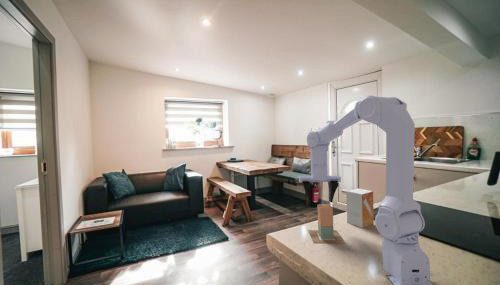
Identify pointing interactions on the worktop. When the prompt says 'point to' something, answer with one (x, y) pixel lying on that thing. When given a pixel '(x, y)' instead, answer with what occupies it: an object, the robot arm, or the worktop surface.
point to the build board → (318, 240)
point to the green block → (325, 232)
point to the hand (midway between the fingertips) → (319, 201)
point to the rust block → (325, 215)
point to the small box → (360, 207)
